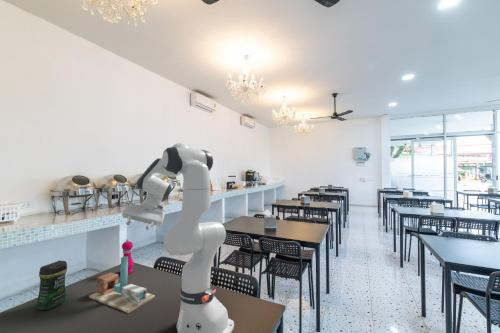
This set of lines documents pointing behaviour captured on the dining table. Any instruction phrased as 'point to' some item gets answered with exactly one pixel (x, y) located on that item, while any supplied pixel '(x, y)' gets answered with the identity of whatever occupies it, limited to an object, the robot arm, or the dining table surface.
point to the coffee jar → (52, 285)
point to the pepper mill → (128, 254)
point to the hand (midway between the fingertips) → (137, 226)
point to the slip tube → (124, 277)
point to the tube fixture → (120, 301)
